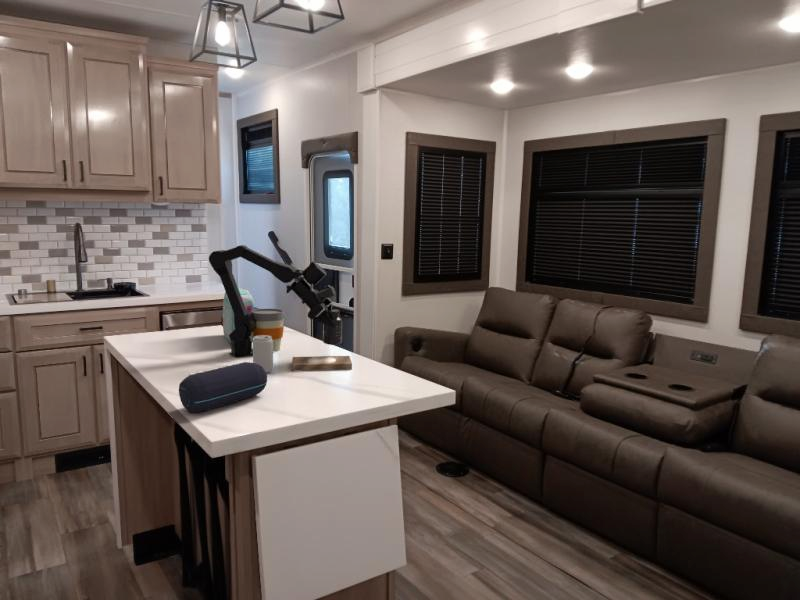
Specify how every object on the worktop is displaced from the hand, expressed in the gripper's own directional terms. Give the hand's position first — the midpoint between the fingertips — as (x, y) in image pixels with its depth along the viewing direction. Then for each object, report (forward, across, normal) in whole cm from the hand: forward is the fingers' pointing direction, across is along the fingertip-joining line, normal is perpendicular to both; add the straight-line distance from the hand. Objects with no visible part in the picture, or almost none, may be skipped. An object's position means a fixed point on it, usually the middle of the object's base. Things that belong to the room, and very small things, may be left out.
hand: (336, 325), depth 210 cm
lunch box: (-22, +25, +41) cm, 53 cm away
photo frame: (-13, -29, +32) cm, 45 cm away
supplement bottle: (+4, 0, +6) cm, 7 cm away
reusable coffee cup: (-11, +10, +29) cm, 32 cm away
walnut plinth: (+6, -11, +11) cm, 17 cm away
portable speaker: (-7, -54, +25) cm, 60 cm away
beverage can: (-6, -22, +24) cm, 33 cm away
